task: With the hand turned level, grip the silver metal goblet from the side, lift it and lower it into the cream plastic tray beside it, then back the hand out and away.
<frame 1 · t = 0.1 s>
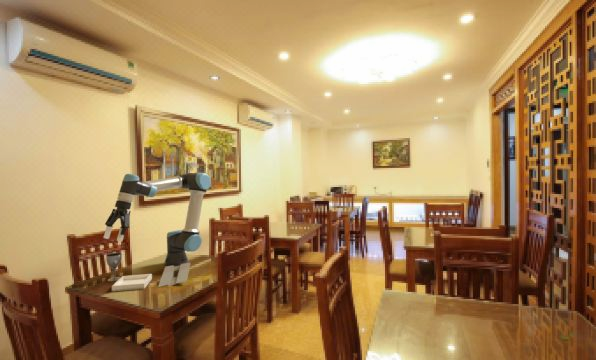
hand: (112, 239, 159), 28 cm above the table, tool tilted 20°, fingers open, 13 cm apart
grey display stand: (175, 282, 172), on the table
silver metal goblet: (114, 279, 178), on the table
tray: (133, 284, 168), on the table
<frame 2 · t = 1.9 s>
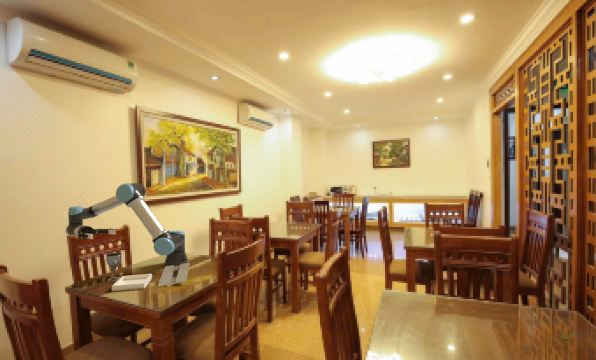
hand: (104, 234, 181), 26 cm above the table, tool horizontal, fingers open, 13 cm apart
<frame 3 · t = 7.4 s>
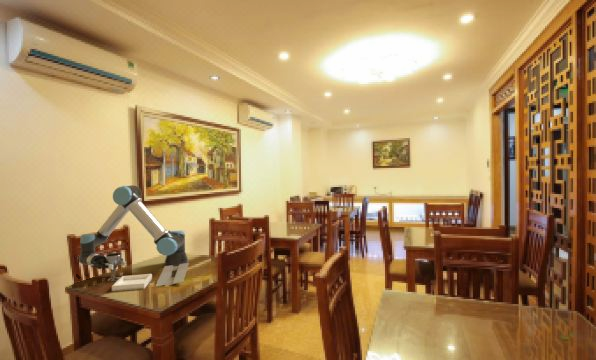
hand: (119, 265, 175), 9 cm above the table, tool horizontal, fingers closed on silver metal goblet, 7 cm apart
silver metal goblet: (114, 279, 178), on the table, touching gripper
when the fingers open (11 cm above the table, at t = 11.9 s): silver metal goblet drops 1 cm, resting on tray.
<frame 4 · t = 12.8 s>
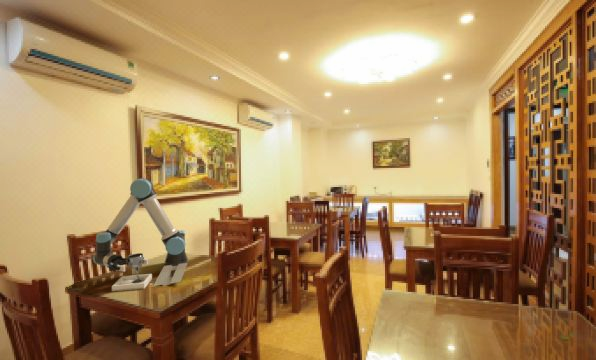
hand: (136, 265, 166), 11 cm above the table, tool horizontal, fingers open, 13 cm apart
grey display stand: (171, 282, 172), on the table
silver metal goblet: (138, 280, 172), point 1 cm above the table, touching gripper, tray
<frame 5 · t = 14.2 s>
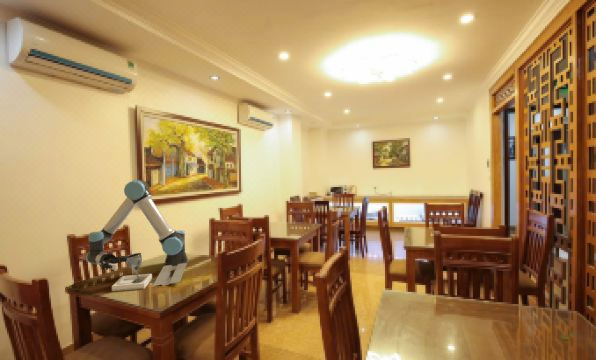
hand: (128, 264, 169), 12 cm above the table, tool horizontal, fingers open, 13 cm apart
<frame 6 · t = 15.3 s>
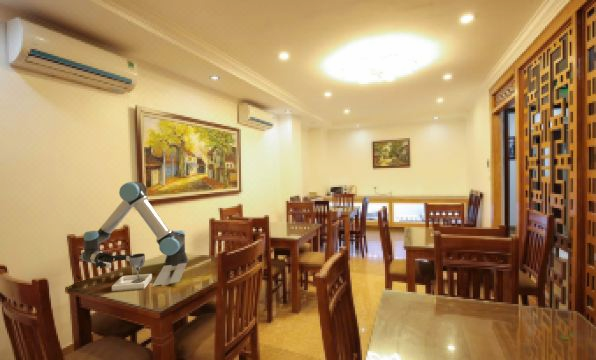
hand: (122, 262, 172), 12 cm above the table, tool horizontal, fingers open, 13 cm apart
silver metal goblet: (138, 281, 172), point 1 cm above the table, touching tray
everything else where it was.
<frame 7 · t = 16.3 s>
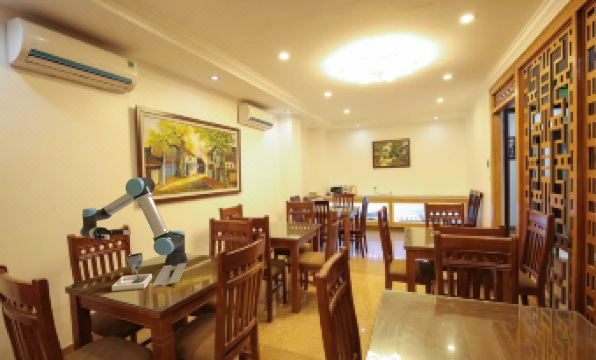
hand: (119, 234, 182), 26 cm above the table, tool horizontal, fingers open, 13 cm apart
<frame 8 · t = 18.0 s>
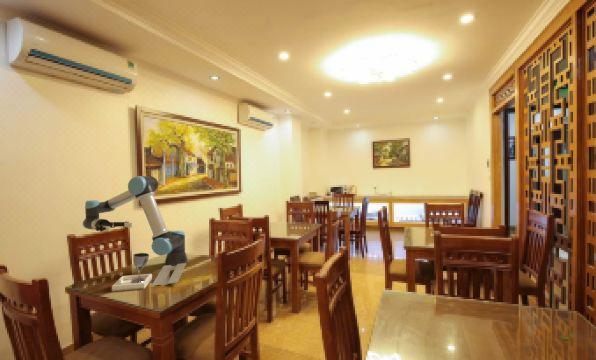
hand: (120, 227, 185), 30 cm above the table, tool horizontal, fingers open, 13 cm apart
at the end: silver metal goblet inside the target area on the tray (3.7 cm from its centre), point 0.6 cm above the tray's base; silver metal goblet tilted 1°; the gripper is holding nothing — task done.
